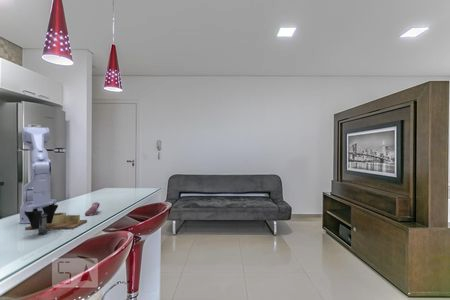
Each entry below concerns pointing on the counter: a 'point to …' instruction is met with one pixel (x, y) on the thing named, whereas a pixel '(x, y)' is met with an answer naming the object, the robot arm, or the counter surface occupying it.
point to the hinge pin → (43, 224)
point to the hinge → (64, 219)
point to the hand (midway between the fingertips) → (42, 225)
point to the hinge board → (60, 226)
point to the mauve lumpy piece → (92, 209)
